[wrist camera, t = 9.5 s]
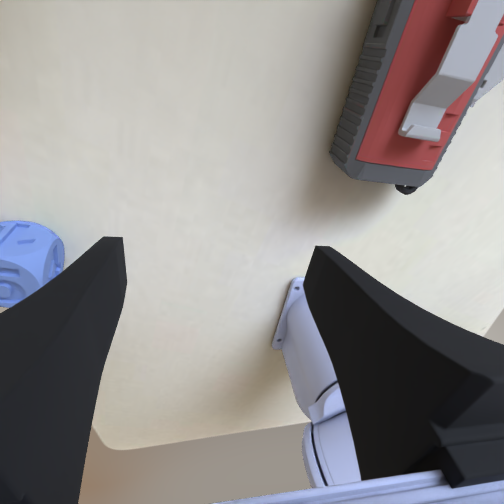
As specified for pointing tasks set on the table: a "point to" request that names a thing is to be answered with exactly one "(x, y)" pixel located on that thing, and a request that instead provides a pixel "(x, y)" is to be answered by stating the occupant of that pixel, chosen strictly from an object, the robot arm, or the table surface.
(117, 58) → the table surface
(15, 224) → the decorative dice
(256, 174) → the table surface
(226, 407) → the table surface
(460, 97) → the walkie-talkie
